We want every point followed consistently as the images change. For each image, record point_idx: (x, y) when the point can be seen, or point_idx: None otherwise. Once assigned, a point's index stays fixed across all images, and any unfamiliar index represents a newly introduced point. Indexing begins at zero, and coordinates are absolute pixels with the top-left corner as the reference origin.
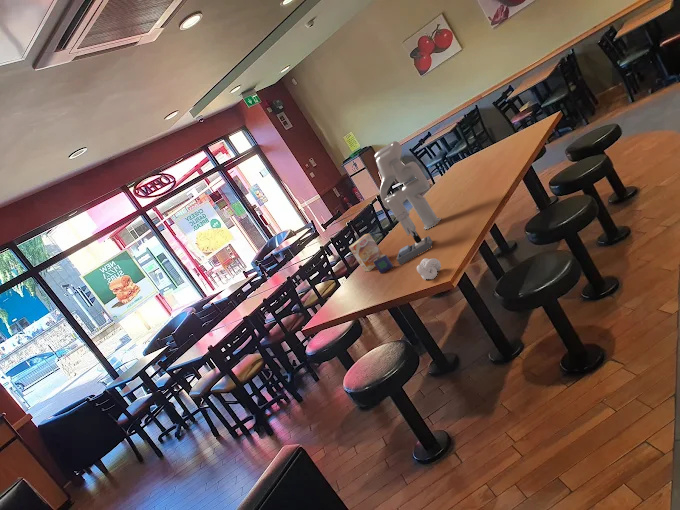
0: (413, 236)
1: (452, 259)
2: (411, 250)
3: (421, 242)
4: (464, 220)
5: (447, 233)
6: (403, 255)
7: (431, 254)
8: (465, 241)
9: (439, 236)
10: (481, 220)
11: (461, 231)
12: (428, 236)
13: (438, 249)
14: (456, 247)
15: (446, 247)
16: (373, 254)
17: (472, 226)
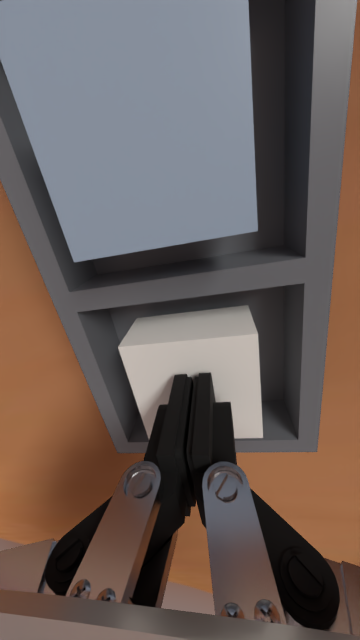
0: (96, 514)
1: None
2: (287, 191)
3: (142, 420)
4: (354, 552)
5: (283, 484)
6: (8, 151)
7: (26, 410)
8: (41, 529)
9: (318, 443)
10: (205, 579)
11: (188, 530)
12: (294, 449)
13: (65, 443)
14: (10, 505)
15: (51, 476)
16: None
17: (184, 558)
